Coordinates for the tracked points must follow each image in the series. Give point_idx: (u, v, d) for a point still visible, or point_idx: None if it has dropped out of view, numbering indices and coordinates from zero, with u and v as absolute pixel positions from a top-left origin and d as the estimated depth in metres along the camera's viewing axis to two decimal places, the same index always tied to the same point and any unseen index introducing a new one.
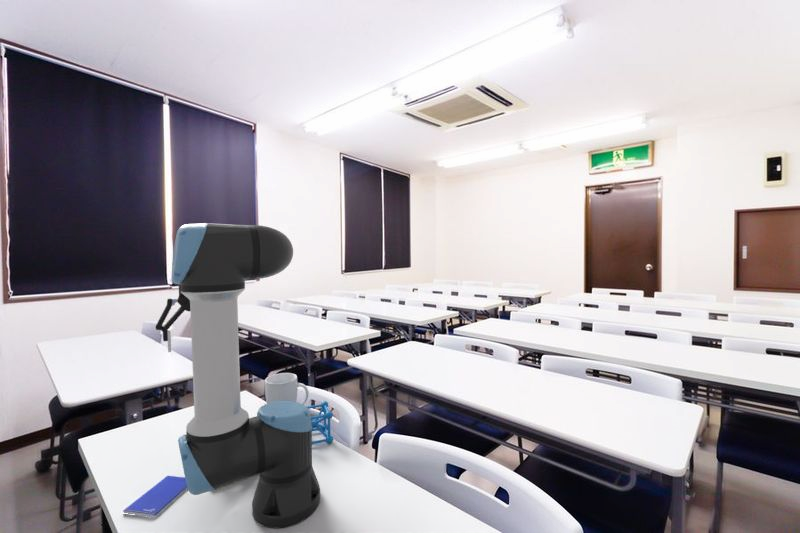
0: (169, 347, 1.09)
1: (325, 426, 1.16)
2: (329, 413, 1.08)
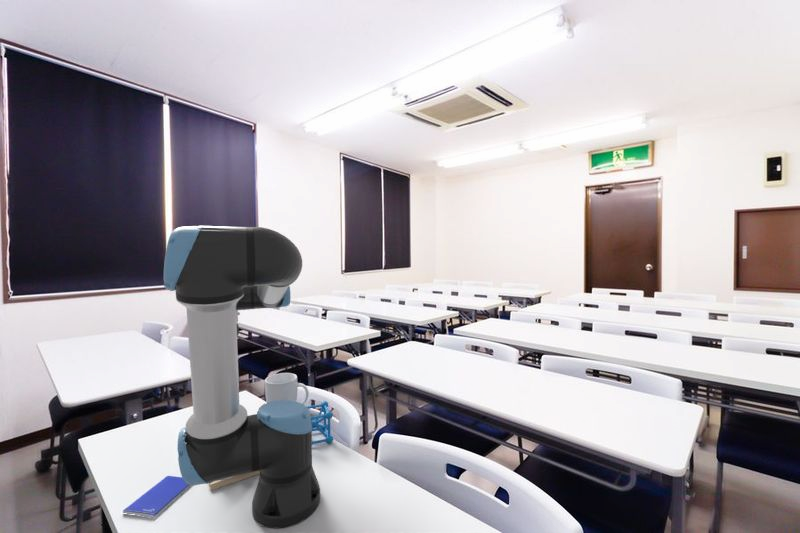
0: None
1: (325, 426, 1.16)
2: (329, 413, 1.08)
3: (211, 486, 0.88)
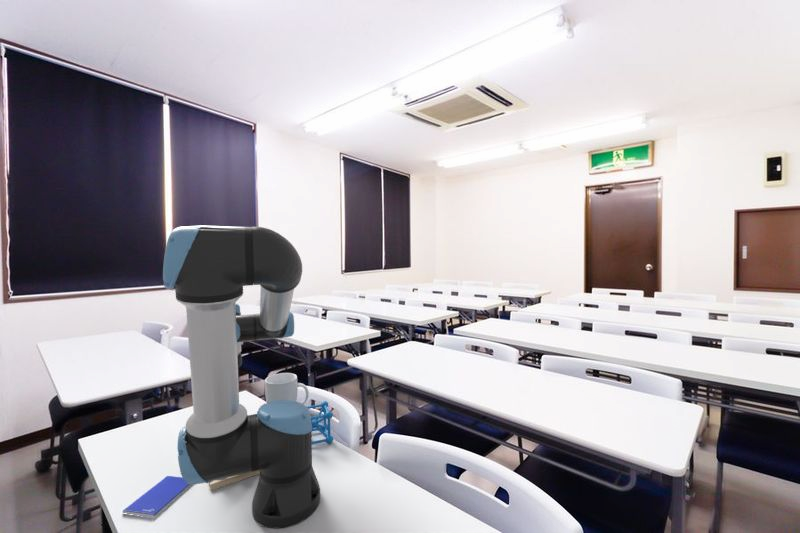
0: None
1: (325, 426, 1.16)
2: (329, 413, 1.08)
3: (211, 486, 0.88)
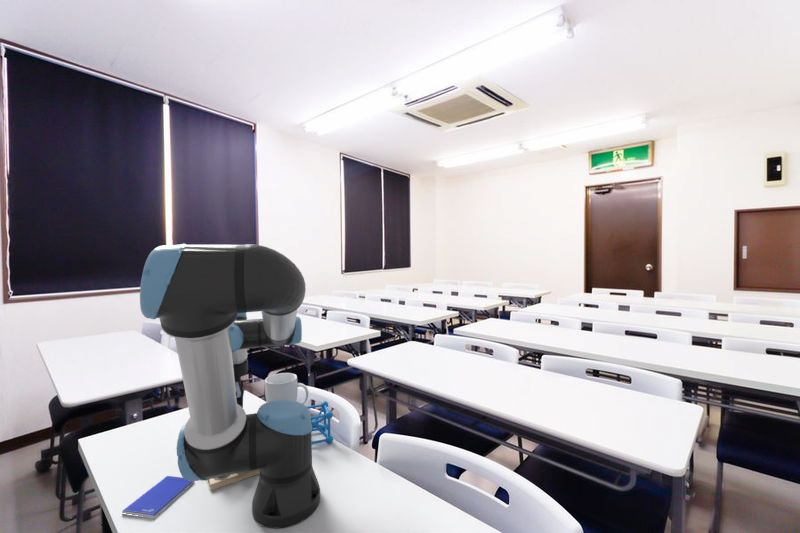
0: None
1: (325, 426, 1.16)
2: (329, 413, 1.08)
3: (211, 486, 0.88)
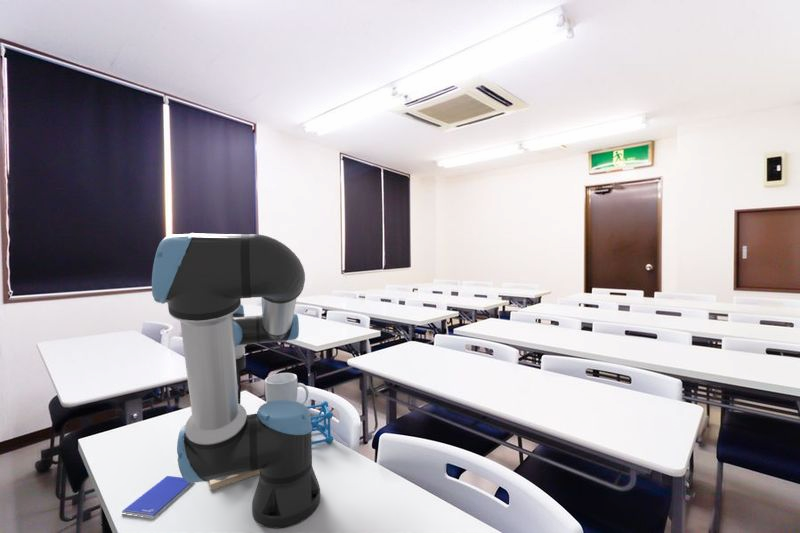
0: None
1: (325, 426, 1.16)
2: (329, 413, 1.08)
3: (211, 486, 0.88)
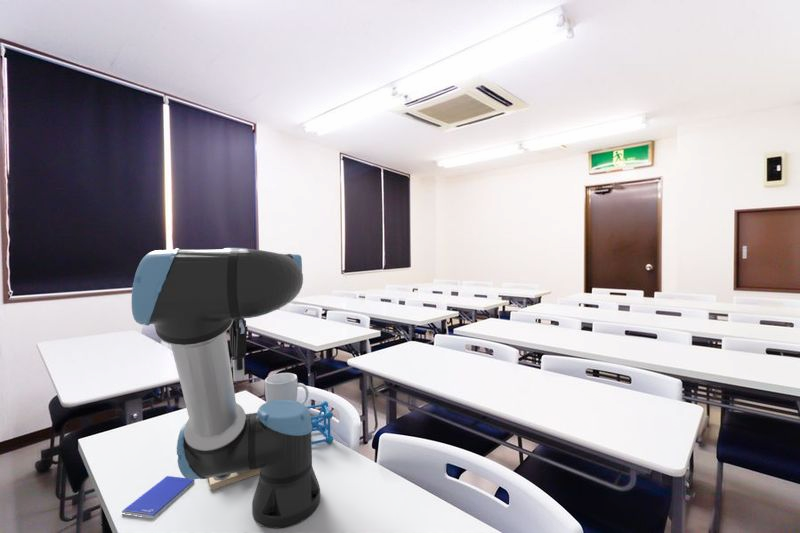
0: (233, 375, 1.05)
1: (325, 426, 1.16)
2: (329, 413, 1.08)
3: (211, 486, 0.88)
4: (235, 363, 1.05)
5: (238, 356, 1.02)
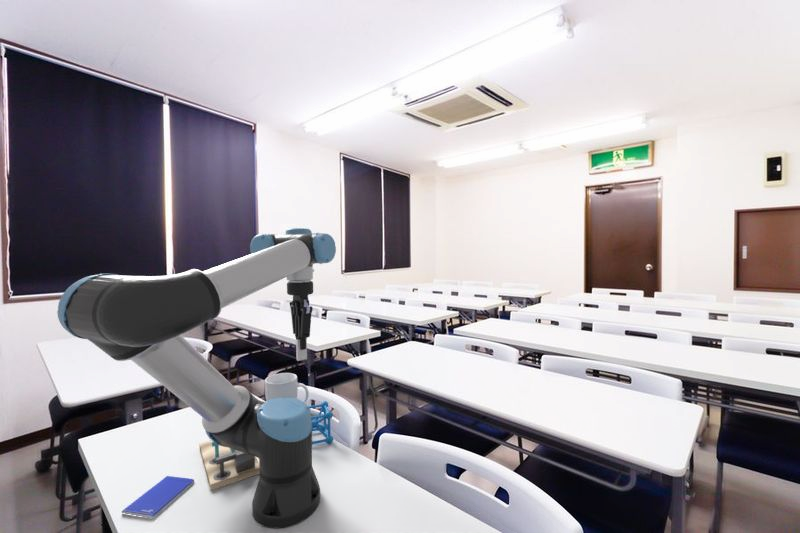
0: (296, 355, 1.07)
1: (325, 426, 1.16)
2: (329, 413, 1.08)
3: (211, 486, 0.88)
4: (299, 343, 1.06)
5: (303, 336, 1.03)
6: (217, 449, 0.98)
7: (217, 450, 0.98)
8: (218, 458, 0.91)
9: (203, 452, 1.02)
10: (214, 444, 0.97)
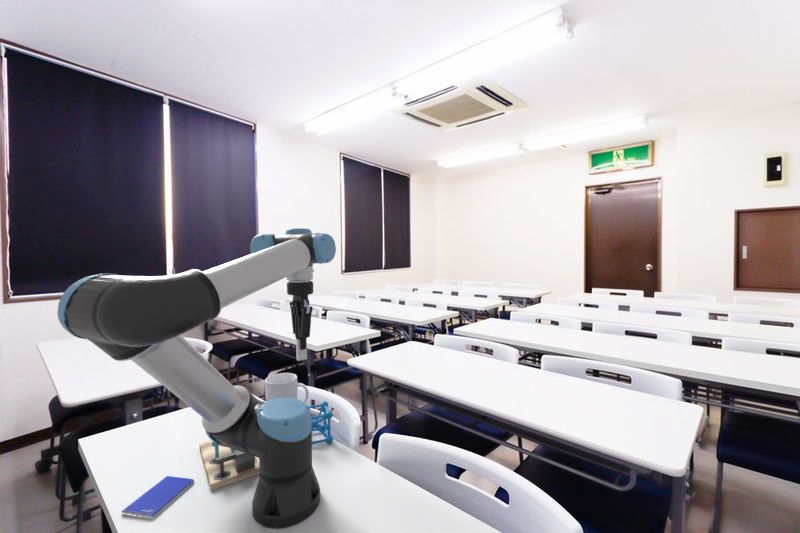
0: (296, 355, 1.07)
1: (325, 426, 1.16)
2: (329, 413, 1.08)
3: (211, 486, 0.88)
4: (299, 343, 1.06)
5: (303, 336, 1.03)
6: (217, 449, 0.98)
7: (217, 450, 0.98)
8: (218, 458, 0.91)
9: (203, 452, 1.02)
10: (214, 444, 0.97)
